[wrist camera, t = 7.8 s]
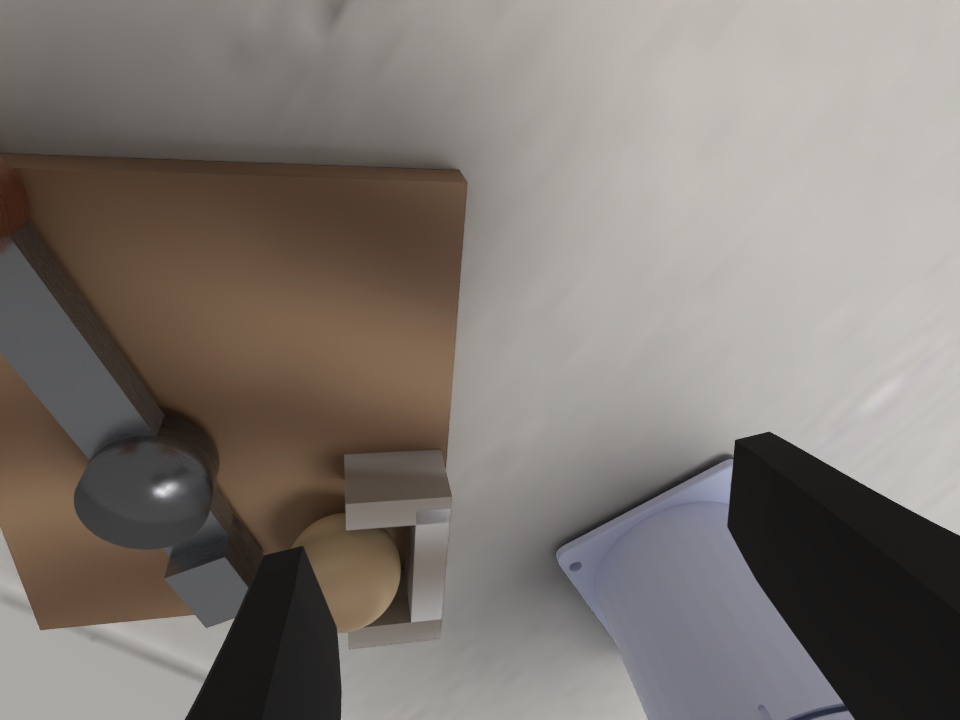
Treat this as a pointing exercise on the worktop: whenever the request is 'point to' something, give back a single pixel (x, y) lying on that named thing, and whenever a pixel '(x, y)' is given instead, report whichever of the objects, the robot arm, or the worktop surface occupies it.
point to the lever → (118, 427)
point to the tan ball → (352, 569)
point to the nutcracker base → (251, 364)
